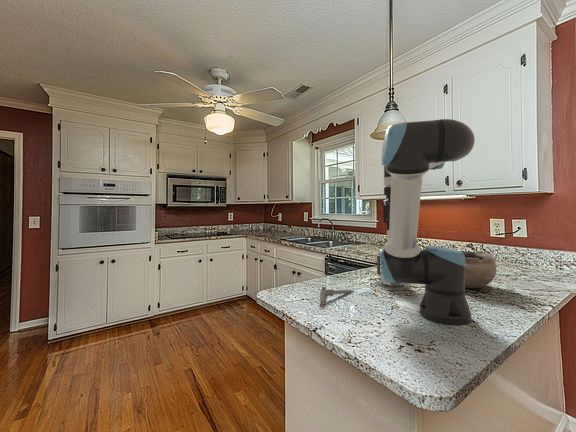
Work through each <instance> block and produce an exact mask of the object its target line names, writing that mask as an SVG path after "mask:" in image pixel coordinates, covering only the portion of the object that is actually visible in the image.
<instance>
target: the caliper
mask: <svg viewBox="0 0 576 432" xmlns="http://www.w3.org/2000/svg"><path fill="white" fill-rule="evenodd" d="M353 292H354V290H352V289H333V288H331V289H330V288H327V287H326V286H322V287H321V289H320V293H319V303H322V304H323V303H326V302H327V300H328V297H334V295H342V294H343V295H344V294H352V293H353Z"/></svg>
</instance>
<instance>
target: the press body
mask: <svg viewBox="0 0 576 432" xmlns="http://www.w3.org/2000/svg"><path fill="white" fill-rule="evenodd" d="M376 274H377V275H380V277H381V278H380V280H381V282H382V285H384V286H388V287H403V286H404V285H405V283H393V282H387V281H385V280H384V279H383V275H382V268H381V260H380V252H378V254H377V255H376Z"/></svg>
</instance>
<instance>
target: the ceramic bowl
mask: <svg viewBox="0 0 576 432" xmlns="http://www.w3.org/2000/svg"><path fill="white" fill-rule="evenodd" d="M460 251H461V252H462V253H463V254H464V256H465V264H466V267H465V289H482V288H484V287H487V286H488V285H489V284H490V283H491V282H493V280H494V279H495V276H496V274H497V265H496V260H497V257H498V256H497V255H495V254H494V253H493V254H492V253H491V254H489V253H485V252H479V251H478V252H477V251H468V250H460Z"/></svg>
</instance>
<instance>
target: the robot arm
mask: <svg viewBox="0 0 576 432" xmlns="http://www.w3.org/2000/svg"><path fill="white" fill-rule="evenodd" d="M383 139H384V140H383V142H382V143H383V144H382V151H381V165H382V166H383V186H384V188H383V194H384V196H386V197H385V200H382V210H383V211H382V216H383V222H384V224H386V238H388V241H386V242H385V243H384V246H383V248H380V249H379V252H378V253H380V255H379V256H380V269H381V268H382V275H383V279H384V280H385V281H387V282H393V283H409V284H410V285H412V284H415V285H425V289H424V290H425V291H424V293H423V296H422V299H421V302H420V304H419V313H420V315H421V316H423V317H424V318H425V319H427V320H430V321H433V322H436V323H440V324H446V325H453V326H454V325H455V326H461V325H462V326H463V325H467V324H470V323H471V322H472V312H471V309H470V307H469V306H470V305H469V303H468V301H467V300H468V299H467V297H466V288H465V267H466V264H465V256H464V254H463V253H462V252H461V251H462V250H458V249H454V248H451V247H450V248H449V247H445V246H444V247H443V246H438V245H426V246H425V247H424V249H421V248H422V247H421V246H420V245H419V244H418V243H417V241H418V240H417V239H418V229H419V218H420V217H419V216H420V208H421V207H420V206H421V194H422V185H423V184H422V183H423V176H424V175H426V173H429V170H434V171H435V170H439V169H442V168H443V167H444V166H445V163H446V162H450V163H451V162H456V161H459V160H461V159H464V158H465V157H466V156H468V155H469V154H470V153H471V151H472V150H473V148H474V146H475V141H476V140H475V135H474V132H473V131H472V129H471V128H470V127H469V126H468V125H467V124H465V123H464V122H462V121H459V120H456V119H452V118H443V119H442V118H441V119H435V120H434V119H433V120H432V119H431V120H422V121H409V122H407V121H404V122H399V123H394V124H391V125H389V126H388V127H387V129H386V131H385V135H384V138H383Z"/></svg>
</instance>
